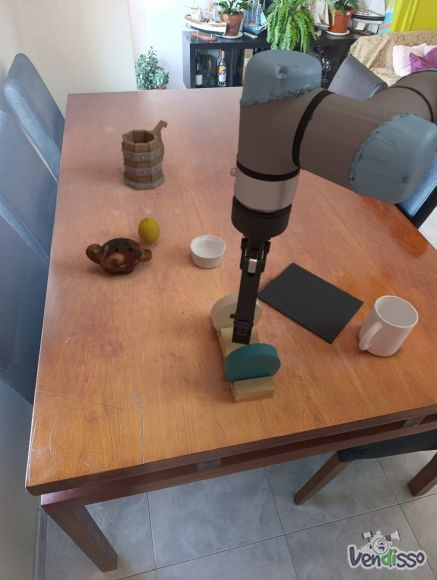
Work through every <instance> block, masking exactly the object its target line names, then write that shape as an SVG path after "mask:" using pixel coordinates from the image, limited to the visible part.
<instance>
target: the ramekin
mask: <svg viewBox="0 0 437 580" xmlns="http://www.w3.org/2000/svg"><path fill="white" fill-rule="evenodd" d="M189 248H190V252H191V254H190V255H191V260H192V262H193V263H194V264H195V265H196V266H197V267H200V268H202V269H215V268H216V267H219V266H220V265H221V264H222V262H223V260H224V255H225V253H226V249H227V244H226V243H225V241H224V240H223V239H221V238H220V237H218V236H216V235H212V234H203V235H198V236H196V237H195V238H193V239H192V240H191V241H190V243H189Z"/></svg>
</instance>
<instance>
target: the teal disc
mask: <svg viewBox="0 0 437 580" xmlns="http://www.w3.org/2000/svg"><path fill="white" fill-rule="evenodd" d="M281 366H282V362H281V359H280V356H279V353H278V350H277V348H275V346H273V345H272V344H269V343H265V342H264V343H263V342H260V343H253V344H249V345H245V346H242V347H239V348H237V349H235V350H234V351H232V352H231V353H230V354H229V355H228V356H227V357H226V358H225V360H224V359H223V362H222V367H223V372H224V375H225V379H226V381H227V382H228V383H229V382H230V383H232V384H233V383H234V382H235V381H241V380H248V379H254V378H261V377H268V376H271V377H272V378H273V376H275V375H276V374H277V373H278V372H279V370H280V369H281Z"/></svg>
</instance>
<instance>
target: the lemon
mask: <svg viewBox="0 0 437 580" xmlns="http://www.w3.org/2000/svg"><path fill="white" fill-rule="evenodd" d="M137 234H138V237H139V239H140V240H141V241H142V242H143V243H144V244H149V245H150V244H151V245H152V244H154V243H156V242H158V241H159V238H160V235H161V229H160V226H159V223H158V222H157V220H156V219H154V218H152V217H144V218H142V219H141V220H140V222H139V223H138V227H137Z"/></svg>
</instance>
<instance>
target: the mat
mask: <svg viewBox="0 0 437 580" xmlns="http://www.w3.org/2000/svg"><path fill="white" fill-rule="evenodd" d="M257 299H258V300H260V301H262V302H263V303H265V304H266V305H268V306H269V307H271V308H273V309H274V310H276V311H278V312H279V313H281V314H282V315H283V316H286V317H287V318H288V319H290V320H292V321H293V322H294V323H297V324H298V325H299V326H301V327H302V328H303V329H306V330H307V331H309V332H311V334H313V335H315V336H317V337H318V338H320V339H321V340H323V341H325V342H327V343H328V344H329V345H332V344H333V342H334V341H335V340H336V339H337V337H338V336H340V334H341V332H342V331H343V330H344V329H345V327H346V326H347V325H348V324H349V322H350V321H351V320H352V319H353V317H354V316H355V315H356V313H358V312H359V310H360V309H361V307H362V306H363V305H364V304H365V302H364V301H363V300H362V299H359V298H358V297H356V296H354V295H352V294H350V293H349V292H347V291H345V290H344V289H341V288H340V287H338V286H336V285H334V284H332V283H331V282H329V281H327V280H325V279H323V278H322V277H320V276H318V275H317V274H315V273H312V272H311V271H310V270H308V269H306V268H304V267H302V266H300V265H298V264H297V263H295V262H291V263H290V264H289V265H287V267H286V268H284V269H283V271H281V272H280V273H278V275H277V276H276V277H275V278H274V279H272V280H271V281H270V282H269V283H267V284H266V286H264V287H263V288H262V289H261V290H260V291H258V295H257Z"/></svg>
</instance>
